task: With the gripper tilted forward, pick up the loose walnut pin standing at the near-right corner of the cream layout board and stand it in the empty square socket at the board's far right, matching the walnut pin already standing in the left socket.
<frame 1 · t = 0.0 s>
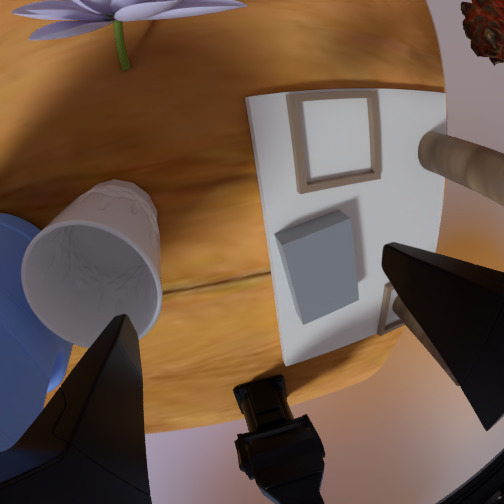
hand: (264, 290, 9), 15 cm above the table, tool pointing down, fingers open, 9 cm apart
cover: (316, 264, 27), resting on layout board
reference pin: (405, 300, 33), point 1 cm above the table, touching layout board
pin: (431, 150, 24), point 1 cm above the table, touching layout board
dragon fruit: (468, 22, 19), on the table
water lily: (138, 8, 15), on the table
water jug: (16, 285, 22), on the table
white cup: (117, 219, 22), on the table
layout board: (365, 234, 28), on the table
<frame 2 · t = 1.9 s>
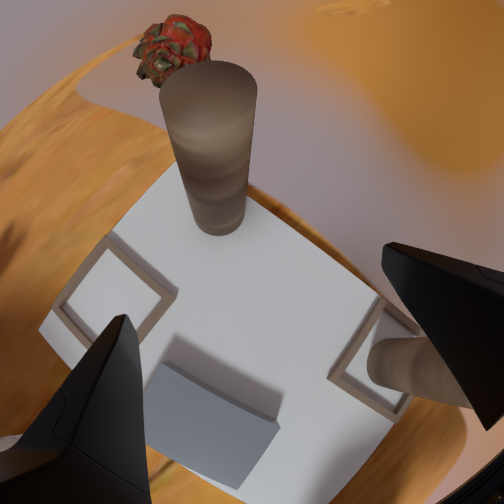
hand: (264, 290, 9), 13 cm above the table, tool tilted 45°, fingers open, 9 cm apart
cover: (202, 424, 19), resting on layout board
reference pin: (388, 362, 21), point 1 cm above the table, touching layout board
pin: (218, 211, 23), point 1 cm above the table, touching layout board
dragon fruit: (176, 73, 29), on the table
layout board: (240, 354, 22), on the table
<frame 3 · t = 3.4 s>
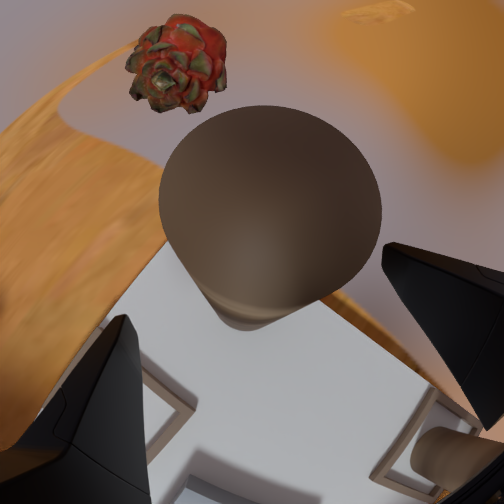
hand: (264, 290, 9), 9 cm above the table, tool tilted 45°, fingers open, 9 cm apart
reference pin: (431, 450, 15), point 1 cm above the table, touching layout board
pin: (246, 297, 17), point 1 cm above the table, touching layout board
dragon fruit: (181, 90, 24), on the table
layout board: (274, 460, 16), on the table
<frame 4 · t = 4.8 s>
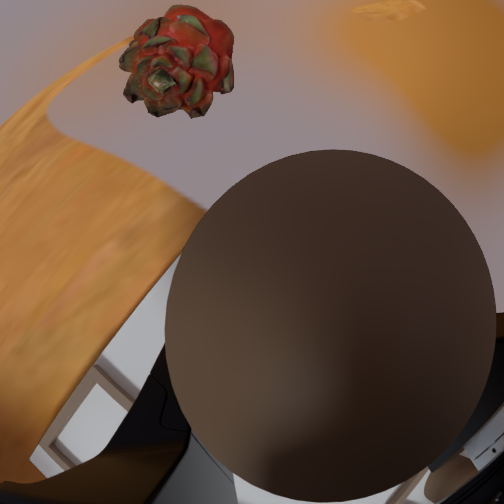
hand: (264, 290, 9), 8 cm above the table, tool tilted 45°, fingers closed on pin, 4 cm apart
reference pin: (445, 477, 13), point 1 cm above the table, touching layout board
pin: (259, 333, 15), point 1 cm above the table, touching gripper, layout board
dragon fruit: (181, 91, 21), on the table
layout board: (286, 496, 13), on the table
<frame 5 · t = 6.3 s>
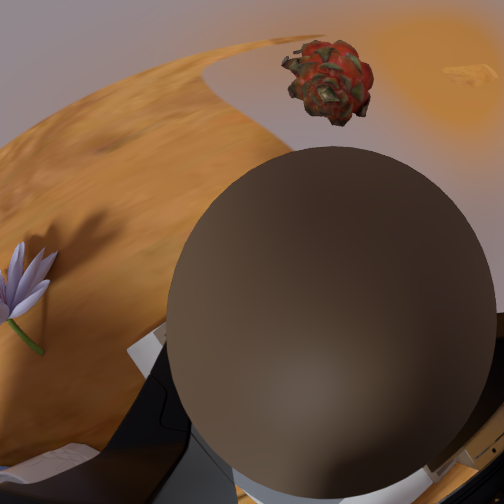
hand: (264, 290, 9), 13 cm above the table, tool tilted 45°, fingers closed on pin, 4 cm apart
cover: (291, 470, 18), resting on layout board
pin: (260, 333, 15), point 7 cm above the table, touching gripper
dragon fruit: (319, 100, 29), on the table
water lily: (32, 298, 21), on the table
white cup: (90, 473, 17), on the table
layout board: (341, 411, 20), on the table
when the fingers open (9 cm above the table, at t = 7.8 s): pin drops 1 cm, resting on layout board.
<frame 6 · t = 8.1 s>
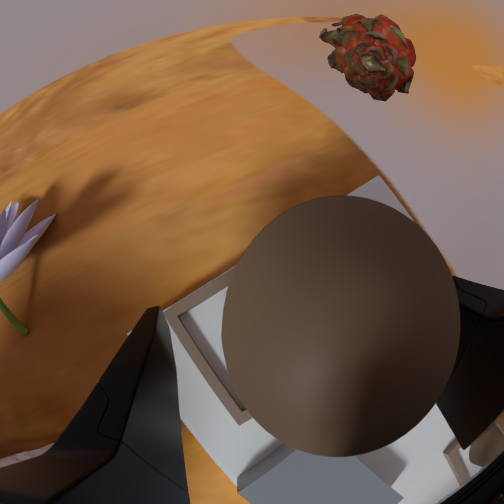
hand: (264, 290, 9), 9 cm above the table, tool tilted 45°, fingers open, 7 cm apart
cover: (321, 488, 14), resting on layout board
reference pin: (484, 442, 14), point 1 cm above the table, touching layout board
pin: (257, 335, 16), point 1 cm above the table, touching layout board
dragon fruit: (357, 77, 25), on the table
water lily: (21, 268, 18), on the table
white cup: (74, 480, 14), on the table
layout board: (380, 418, 16), on the table
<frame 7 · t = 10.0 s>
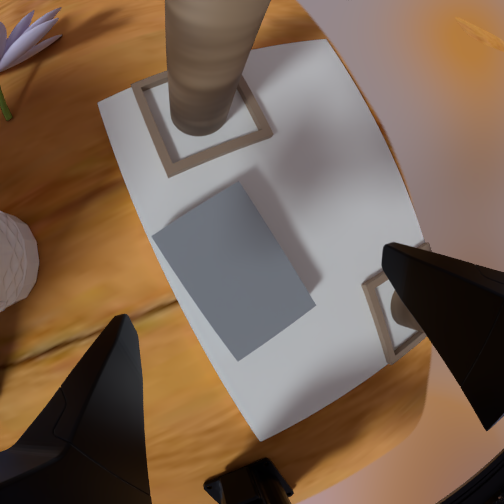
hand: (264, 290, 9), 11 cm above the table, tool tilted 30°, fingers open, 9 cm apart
cover: (232, 271, 19), resting on layout board
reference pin: (407, 302, 22), point 1 cm above the table, touching layout board
pin: (199, 110, 19), point 1 cm above the table, touching layout board
water lily: (20, 74, 16), on the table
white cup: (8, 259, 17), on the table
layout board: (298, 221, 21), on the table
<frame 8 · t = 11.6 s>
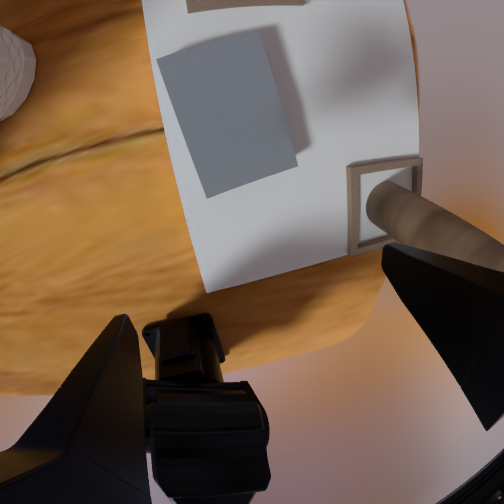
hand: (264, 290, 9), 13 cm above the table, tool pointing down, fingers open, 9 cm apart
cover: (225, 111, 17), resting on layout board
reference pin: (384, 203, 23), point 1 cm above the table, touching layout board
white cup: (3, 79, 12), on the table
layout board: (304, 86, 19), on the table
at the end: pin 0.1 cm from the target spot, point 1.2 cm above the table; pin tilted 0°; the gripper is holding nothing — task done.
